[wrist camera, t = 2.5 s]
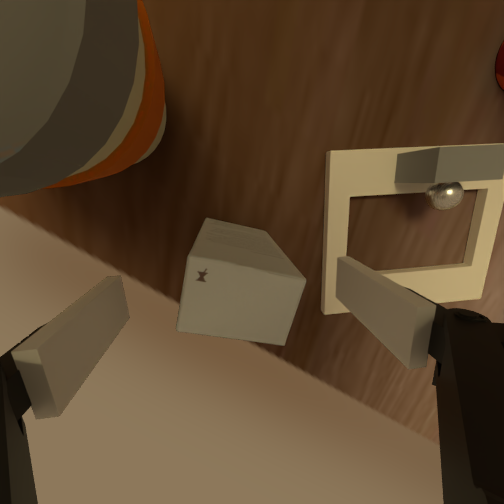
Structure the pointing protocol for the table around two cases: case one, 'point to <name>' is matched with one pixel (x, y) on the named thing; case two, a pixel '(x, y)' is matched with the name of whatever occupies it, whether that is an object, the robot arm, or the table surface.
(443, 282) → the socket board
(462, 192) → the silver metal knob
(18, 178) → the reusable coffee cup
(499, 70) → the paper cup
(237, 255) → the skincare box
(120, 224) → the table surface
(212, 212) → the table surface
